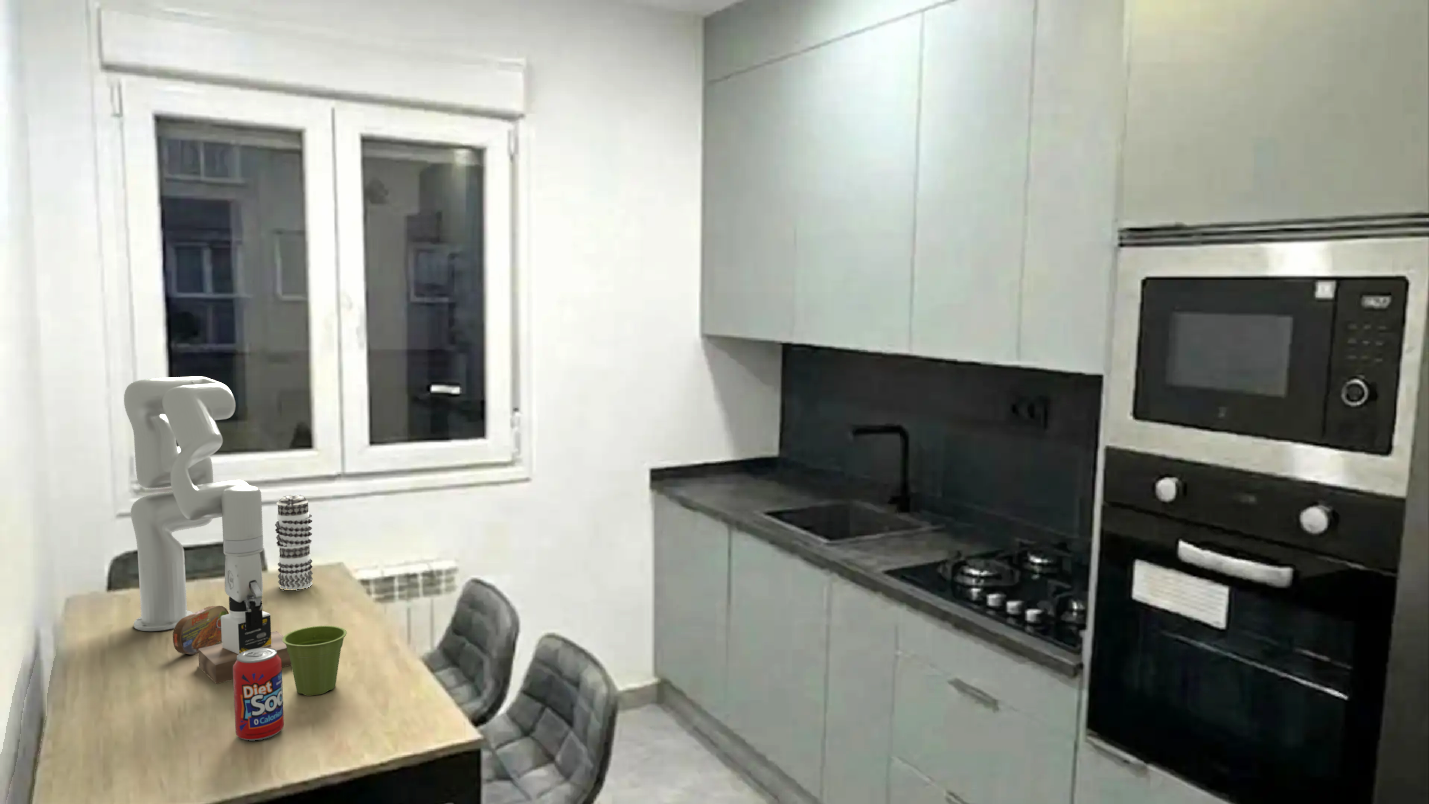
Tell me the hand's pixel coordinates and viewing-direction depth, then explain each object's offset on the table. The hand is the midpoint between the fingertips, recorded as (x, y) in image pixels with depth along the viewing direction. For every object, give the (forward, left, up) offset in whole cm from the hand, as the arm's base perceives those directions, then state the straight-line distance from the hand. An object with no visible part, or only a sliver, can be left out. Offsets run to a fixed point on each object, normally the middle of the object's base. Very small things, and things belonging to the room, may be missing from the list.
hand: (246, 623), depth 197 cm
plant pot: (+22, +6, -10) cm, 25 cm away
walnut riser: (0, 0, -9) cm, 9 cm away
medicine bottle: (0, 0, -6) cm, 6 cm away
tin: (-18, -4, -10) cm, 21 cm away
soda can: (+35, -9, -10) cm, 37 cm away
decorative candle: (-50, +28, -10) cm, 58 cm away
